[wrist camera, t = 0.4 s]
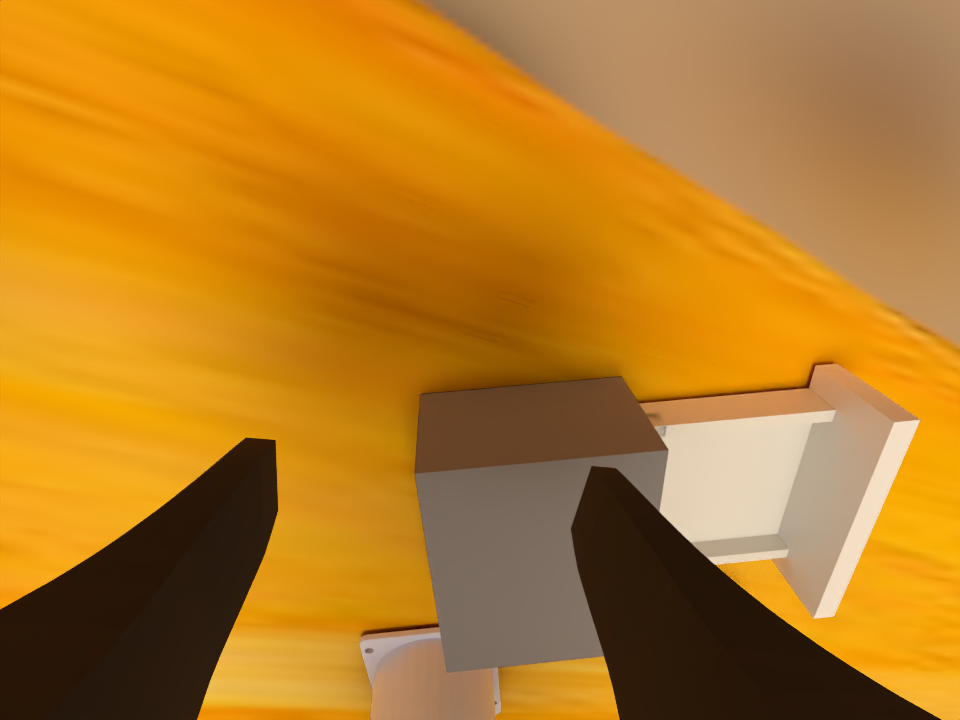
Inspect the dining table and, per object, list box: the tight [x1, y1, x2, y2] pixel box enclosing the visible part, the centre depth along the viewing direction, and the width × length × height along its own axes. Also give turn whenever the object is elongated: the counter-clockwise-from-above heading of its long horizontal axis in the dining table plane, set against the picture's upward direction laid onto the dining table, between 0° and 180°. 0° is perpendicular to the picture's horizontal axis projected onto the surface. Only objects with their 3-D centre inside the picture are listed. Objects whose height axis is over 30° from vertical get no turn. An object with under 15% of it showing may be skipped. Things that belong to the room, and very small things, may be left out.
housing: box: [415, 377, 669, 673], centre depth 23 cm, size 12×9×5 cm
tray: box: [639, 364, 920, 619], centre depth 23 cm, size 12×9×4 cm
